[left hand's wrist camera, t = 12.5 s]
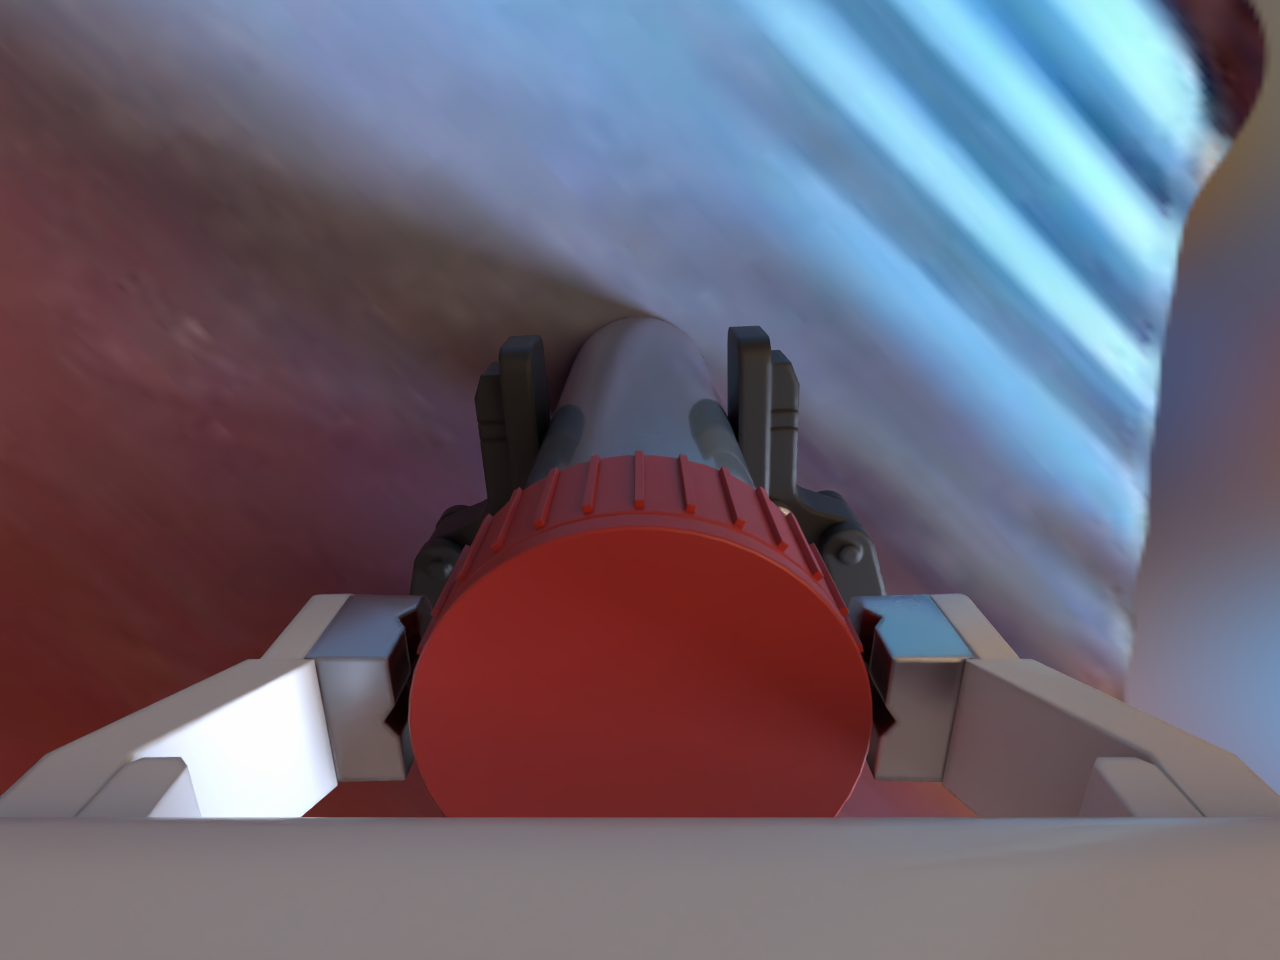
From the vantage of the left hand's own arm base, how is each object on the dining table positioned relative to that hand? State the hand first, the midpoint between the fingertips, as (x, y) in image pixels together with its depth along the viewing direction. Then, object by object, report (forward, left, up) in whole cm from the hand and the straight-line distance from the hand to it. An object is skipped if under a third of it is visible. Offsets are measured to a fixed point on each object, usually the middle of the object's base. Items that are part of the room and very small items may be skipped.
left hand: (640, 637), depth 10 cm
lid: (0, 0, +2) cm, 2 cm away
